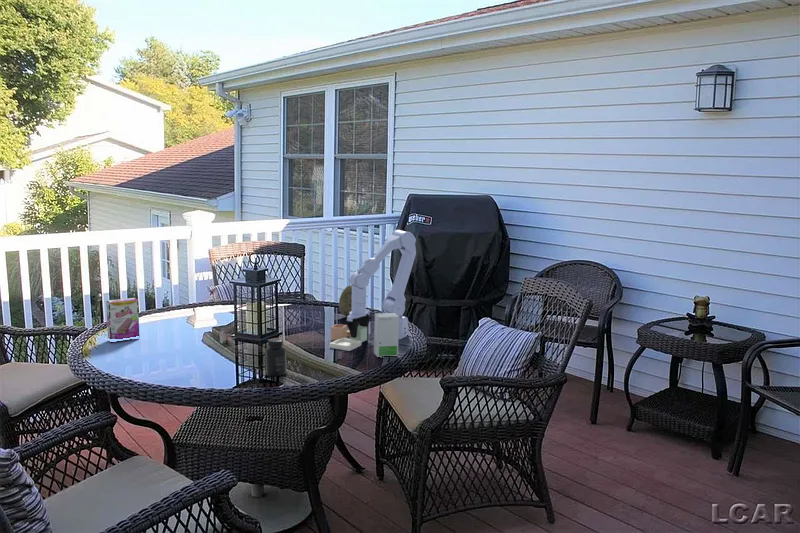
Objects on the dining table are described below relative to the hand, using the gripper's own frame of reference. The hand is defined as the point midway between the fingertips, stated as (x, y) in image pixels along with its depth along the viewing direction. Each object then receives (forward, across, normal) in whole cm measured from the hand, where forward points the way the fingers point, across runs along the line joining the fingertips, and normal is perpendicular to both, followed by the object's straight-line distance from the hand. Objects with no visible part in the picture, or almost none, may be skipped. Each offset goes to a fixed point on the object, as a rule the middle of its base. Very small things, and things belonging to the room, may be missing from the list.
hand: (358, 335), depth 264 cm
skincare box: (+2, +12, +19) cm, 23 cm away
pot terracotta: (+2, +2, -8) cm, 8 cm away
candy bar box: (+3, +46, -81) cm, 93 cm away
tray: (+2, +10, 0) cm, 10 cm away
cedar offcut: (+2, -6, -6) cm, 9 cm away
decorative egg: (+2, -32, -23) cm, 39 cm away
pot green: (+2, 0, 0) cm, 2 cm away
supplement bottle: (+3, +50, -3) cm, 50 cm away
